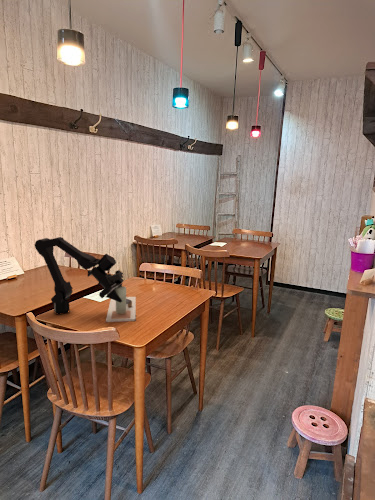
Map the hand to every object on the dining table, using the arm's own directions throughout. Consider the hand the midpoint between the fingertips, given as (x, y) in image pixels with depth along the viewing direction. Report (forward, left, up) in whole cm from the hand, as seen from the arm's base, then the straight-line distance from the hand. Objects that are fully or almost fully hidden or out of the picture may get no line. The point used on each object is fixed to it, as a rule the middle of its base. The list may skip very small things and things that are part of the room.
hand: (123, 300), depth 169 cm
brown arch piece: (+5, +11, -8) cm, 15 cm away
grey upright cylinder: (-1, +1, -6) cm, 6 cm away
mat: (-1, +1, -9) cm, 9 cm away
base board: (+4, +11, -9) cm, 15 cm away
